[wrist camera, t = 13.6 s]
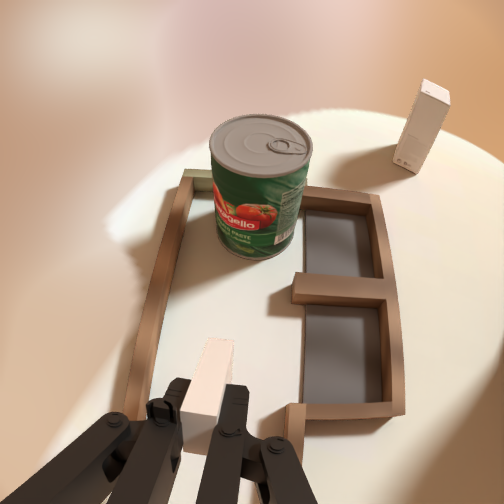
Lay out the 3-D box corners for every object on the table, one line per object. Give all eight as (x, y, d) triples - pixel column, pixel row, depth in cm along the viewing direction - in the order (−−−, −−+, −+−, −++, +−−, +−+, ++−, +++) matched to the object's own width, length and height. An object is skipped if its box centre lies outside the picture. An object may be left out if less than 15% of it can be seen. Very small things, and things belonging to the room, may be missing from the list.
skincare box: (417, 175, 38) (451, 106, 28) (391, 162, 39) (419, 90, 29) (422, 154, 41) (450, 90, 31) (397, 142, 42) (422, 76, 32)
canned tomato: (206, 250, 30) (193, 164, 21) (228, 193, 34) (225, 108, 25) (287, 268, 29) (307, 184, 20) (299, 206, 33) (316, 122, 24)
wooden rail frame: (389, 484, 18) (401, 487, 16) (125, 468, 19) (115, 471, 17) (371, 200, 34) (377, 187, 33) (187, 182, 35) (184, 168, 33)
